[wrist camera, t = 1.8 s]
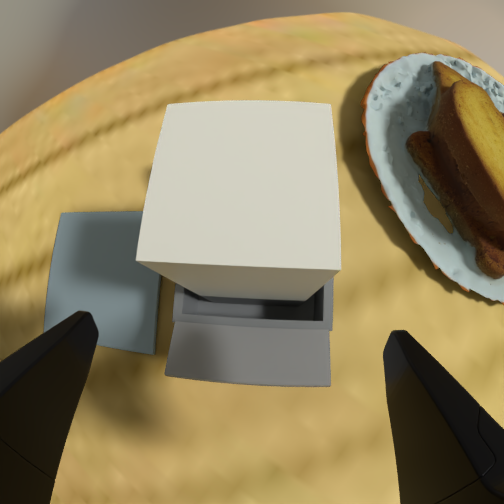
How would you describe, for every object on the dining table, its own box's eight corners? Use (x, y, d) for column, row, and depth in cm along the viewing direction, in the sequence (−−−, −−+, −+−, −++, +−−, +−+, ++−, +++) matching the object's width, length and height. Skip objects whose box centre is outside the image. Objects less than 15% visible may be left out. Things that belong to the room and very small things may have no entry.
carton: (317, 373, 18) (334, 387, 13) (188, 365, 19) (160, 376, 14) (319, 173, 22) (332, 130, 17) (206, 170, 22) (190, 127, 17)
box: (298, 306, 19) (340, 269, 8) (213, 302, 20) (135, 260, 8) (300, 225, 20) (330, 104, 9) (220, 222, 21) (167, 104, 9)
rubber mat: (154, 354, 19) (152, 354, 19) (46, 332, 20) (43, 332, 20) (169, 213, 22) (167, 211, 21) (63, 214, 22) (61, 212, 22)
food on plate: (569, 195, 21) (601, 175, 14) (499, 366, 18) (552, 369, 11) (431, 47, 26) (448, 10, 20) (295, 139, 23) (302, 82, 17)
